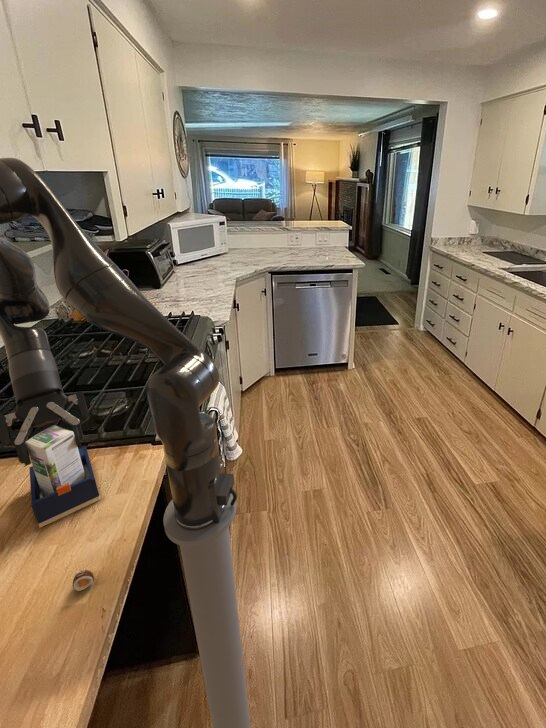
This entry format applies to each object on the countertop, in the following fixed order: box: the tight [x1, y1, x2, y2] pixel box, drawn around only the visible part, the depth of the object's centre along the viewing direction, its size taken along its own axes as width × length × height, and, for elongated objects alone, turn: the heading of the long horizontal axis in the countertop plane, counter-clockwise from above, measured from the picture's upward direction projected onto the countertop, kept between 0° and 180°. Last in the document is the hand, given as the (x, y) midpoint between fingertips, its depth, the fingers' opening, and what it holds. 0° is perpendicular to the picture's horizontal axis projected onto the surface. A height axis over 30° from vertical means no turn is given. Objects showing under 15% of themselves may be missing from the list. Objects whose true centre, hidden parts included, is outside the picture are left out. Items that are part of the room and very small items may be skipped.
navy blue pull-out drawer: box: [28, 445, 101, 529], centre depth 73 cm, size 12×10×7 cm
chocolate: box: [71, 568, 95, 592], centre depth 57 cm, size 3×2×4 cm
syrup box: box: [25, 424, 86, 497], centre depth 71 cm, size 6×6×14 cm
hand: (54, 454), depth 68 cm, fingers closed on syrup box, 7 cm apart
